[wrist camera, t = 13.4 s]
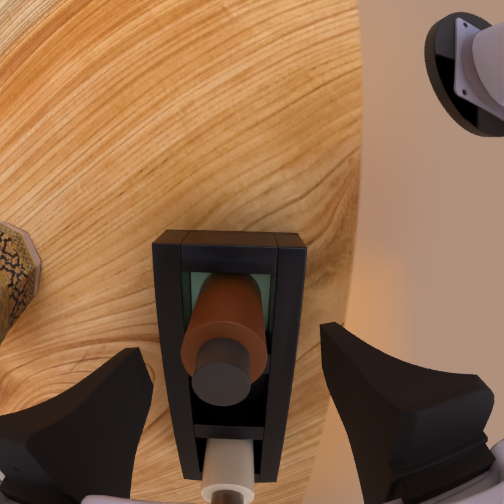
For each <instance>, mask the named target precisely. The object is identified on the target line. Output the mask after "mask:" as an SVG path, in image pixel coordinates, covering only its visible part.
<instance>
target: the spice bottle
mask: <svg viewBox="0 0 504 504" xmlns="http://www.w3.org/2000/svg"><path fill="white" fill-rule="evenodd" d="M181 359H182V363H183V365H184V367H185V369H186V371H187V372H188V373H189V375H190V376H191V377H192V387H193V390H194V392H195V393H196V394H197V396H198V397H199V398H201V399H202V400H203V401H205V402H207V403H209V404H212V405H217V406H229V405H234V404H236V403H239V402H240V401H242V400H243V399H244V398H245V397H246V396H247V395H248V393H249V391H250V384H251V383H253V382H254V381H255V380H257V379H258V378H259V377H260V375H261V374H262V373H263V371H264V369H265V367H266V364H267V347H266V337H265V327H264V318H263V308H262V298H261V290H260V287H259V285H258V283H257V281H256V280H255V279H254V278H253V277H252V276H251V275H250V274H232V273H211V274H210V275H209V276H208V277H207V278H206V279H205V280H204V282H203V284H202V286H201V289H200V292H199V295H198V298H197V301H196V304H195V307H194V310H193V313H192V316H191V319H190V322H189V325H188V328H187V331H186V334H185V337H184V340H183V343H182V347H181Z"/></svg>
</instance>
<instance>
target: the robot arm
mask: <svg viewBox="0 0 504 504" xmlns="http://www.w3.org/2000/svg"><path fill="white" fill-rule="evenodd" d="M463 24H464V25H465V26H464V25H463ZM453 90H454V93H455V94H456V95H457V96H459V97H461V98H463V99H465V100H467V101H469V102H471V103H472V104H474V105H476V106H478V107H480V108H482V109H483V110H485V111H487V112H489V113H490V114H492V115H494V116H495V117H497V118H499V119H500V120H502V121H504V22H502V23H499V24H496V25H494V26H491V27H489V28H486V29H484V30H482V31H481V30H479V29H477V28H476V27H474V26H473V25H471V24H469V23H468V22H466V21H464V20H462V19H461V18H457V19H455V68H454V86H453ZM462 90H463V91H464V94H463V93H462ZM320 339H321V357H322V369H323V372H324V376H325V380H326V383H327V387H328V389H329V392H330V394H331V397H332V399H333V401H334V404H335V406H336V408H337V410H338V413H339V415H340V417H341V420H342V422H343V425H344V427H345V430H346V432H347V435H348V438H349V442H350V445H351V449H352V453H353V456H354V460H355V464H356V468H357V472H358V476H359V481H360V485H361V489H362V494H363V498H364V504H504V439H502V440H501V441H499V442H498V443H496V444H495V445H494V446H493V447H492V448H491V449H490V450H489V449H488V447H487V445H486V444H485V443H486V442H487V441H488V437H487V436H486V434H485V433H484V432H483V430H484V427H485V425H486V423H487V421H488V419H489V416H490V414H491V412H492V408H493V405H494V394H493V392H492V391H491V389H490V388H489V387H488V386H487V385H486V384H485V383H484V382H483V381H482V380H481V379H480V377H478V376H477V375H473V374H458V373H457V374H456V373H448V372H442V371H437V370H432V369H427V368H423V367H420V366H417V365H413V364H410V363H407V362H404V361H402V360H399V359H397V358H394V357H392V356H390V355H388V354H385V353H383V352H382V351H380V350H378V349H376V348H374V347H372V346H371V345H369V344H367V343H366V342H364V341H362V340H361V339H359V338H358V337H356V336H355V335H353V334H352V333H350V332H349V331H347V330H346V329H345V328H343V327H342V326H341V325H339V324H338V323H336V322H331V323H325V324H320ZM153 387H154V386H153V383H152V381H151V378H150V376H149V373H148V371H147V368H146V365H145V363H144V360H143V357H142V355H141V352H140V349H139V347H135V348H125V349H123V350H122V351H120V352H119V353H117V354H116V355H115V356H113V357H112V358H111V359H110V360H108V361H107V362H106V363H104V364H103V365H102V366H101V367H99V368H98V369H97V370H95V371H94V372H93V373H91V374H90V375H89V376H87V377H86V378H84V379H83V380H82V381H80V382H79V383H77V384H76V385H74V386H73V387H71V388H70V389H68V390H66V391H65V392H63V393H61V394H59V395H57V396H55V397H54V398H51V399H49V400H47V401H45V402H43V403H40V404H38V405H36V406H33V407H30V408H28V409H25V410H21V411H18V412H15V413H11V414H6V415H1V416H0V471H1V472H2V473H3V474H4V475H5V478H4V480H3V481H2V480H0V504H194V503H170V502H155V501H144V500H134V499H130V489H131V480H132V472H133V466H134V460H135V454H136V450H137V447H138V443H139V440H140V437H141V434H142V431H143V428H144V425H145V422H146V419H147V415H148V412H149V409H150V406H151V400H152V394H153Z"/></svg>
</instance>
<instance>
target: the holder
mask: <svg viewBox="0 0 504 504" xmlns="http://www.w3.org/2000/svg"><path fill="white" fill-rule="evenodd" d="M152 255H153V271H154V285H155V297H156V308H157V318H158V328H159V337H160V345H161V353H162V361H163V368H164V375H165V382H166V388H167V395H168V401H169V407H170V413H171V418H172V424H173V429H174V434H175V439H176V444H177V449H178V454H179V459H180V463H181V468H182V472H183V477H184V479H190V480H202V474H203V466H204V457H205V449H206V441H207V438H214V439H237V440H253V444H254V482H255V483H259V482H260V483H266V482H276V481H277V476H278V471H279V465H280V459H281V454H282V448H283V442H284V436H285V429H286V423H287V417H288V410H289V403H290V397H291V390H292V382H293V375H294V368H295V360H296V352H297V344H298V336H299V327H300V318H301V309H302V299H303V290H304V279H305V269H306V257H307V247H306V246H305V244H304V242H303V241H302V239H301V238H300V236H299V234H298V233H277V232H245V231H207V230H166V231H165V232H164V233H163V234H161V235H160V236H159V237H158V238H157V239H156V240H155V241H154V242H153V243H152ZM211 273H232V274H250V275H251V276H252V277H253V278H254V279H255V280H256V281H257V283H258V285H259V287H260V290H261V298H262V308H263V318H264V327H265V337H266V347H267V364H266V367H265V369H264V371H263V373H262V374H261V375H260V377H259V378H258V379H257V380H255V381H254V382H253V383H251V384H250V391H249V393H248V395H247V396H246V397H245V398H244V399H243V400H242V401H240V402H239V403H236V404H234V405H229V406H217V405H212V404H209V403H207V402H205V401H203V400H202V399H201V398H199V397H198V396H197V394H196V393H195V392H194V390H193V387H192V377H191V376H190V375H189V373H188V372H187V371H186V369H185V367H184V365H183V363H182V359H181V347H182V343H183V340H184V337H185V334H186V331H187V328H188V325H189V322H190V319H191V316H192V313H193V310H194V307H195V304H196V301H197V298H198V295H199V292H200V289H201V286H202V284H203V282H204V280H205V279H206V278H207V277H208V276H209V275H210V274H211Z"/></svg>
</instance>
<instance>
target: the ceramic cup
mask: <svg viewBox="0 0 504 504" xmlns="http://www.w3.org/2000/svg"><path fill="white" fill-rule="evenodd" d="M40 268H41V260H40V258H39V256H38V254H37V252H36V249H35V247H34V245H33V243H32V241H31V239H30V236H29V234H28V233H26V232H24V231H22V230H20V229H18V228H16V227H14V226H12V225H10V224H8V223H6V222H0V345H1V343H2V341H3V340H4V338H5V336H6V334H7V333H8V331H9V330H10V328H11V327H12V326H13V324H14V323H15V322H16V320H17V319H18V318H19V316H20V315H21V314H22V312H23V311H24V310H25V308H26V307H27V305H28V304H29V303H30V302H31V301H32V299H33V298H34V297H35V295H36V294H37V292H38V287H39V277H40Z"/></svg>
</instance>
